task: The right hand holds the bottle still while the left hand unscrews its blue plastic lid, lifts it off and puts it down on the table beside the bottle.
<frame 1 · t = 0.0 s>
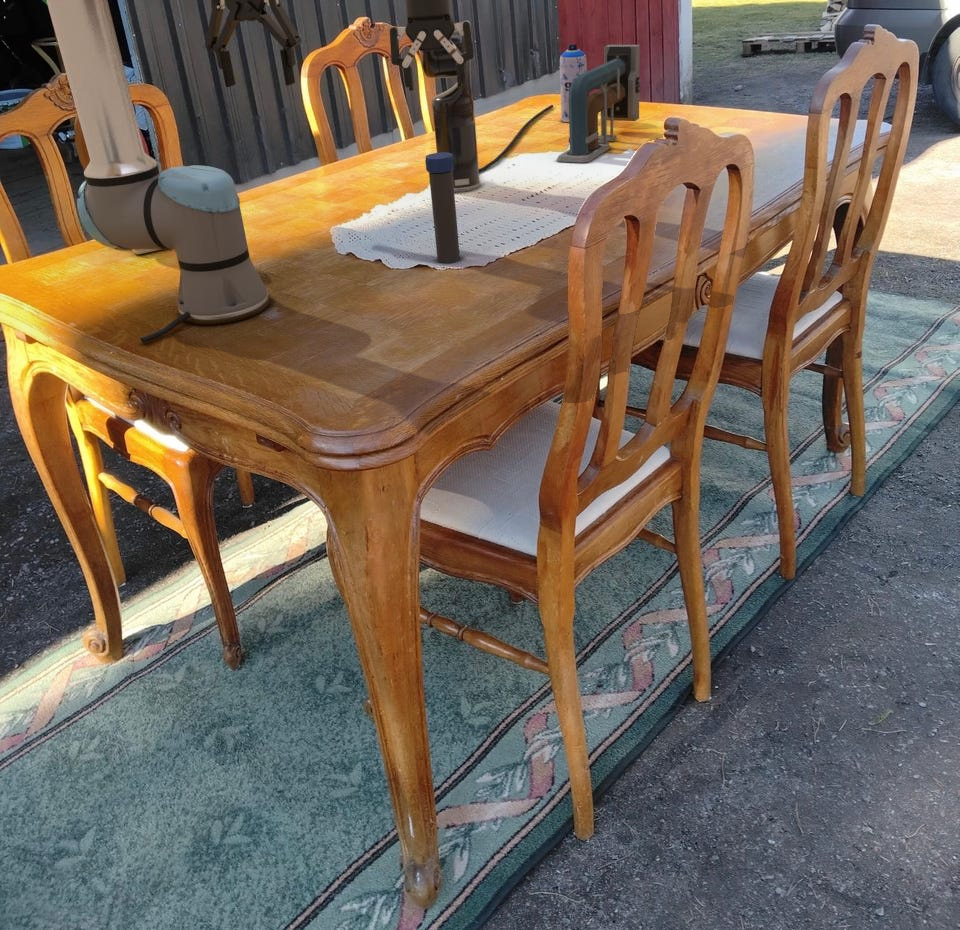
left hand: (260, 85, 196), 28 cm above the table, tool pointing down, fingers open, 13 cm apart
right hand: (435, 88, 170), 29 cm above the table, tool pointing down, fingers open, 8 cm apart
bottle: (448, 259, 180), on the table
aerosol can: (574, 120, 278), on the table
toy: (144, 245, 202), on the table
lid: (439, 157, 171), point 19 cm above the table, screwed on, not yet turned
clamp: (598, 145, 248), on the table
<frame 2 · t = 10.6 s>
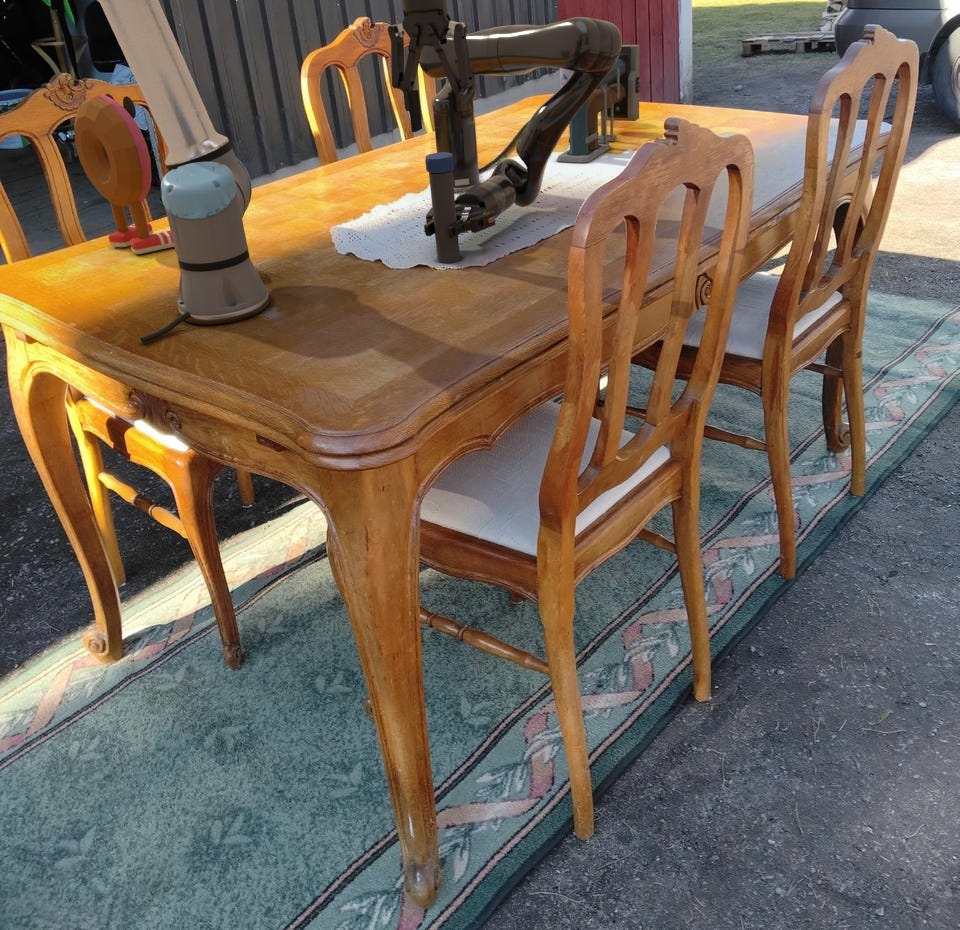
left hand: (436, 130, 168), 23 cm above the table, tool pointing down, fingers open, 7 cm apart
right hand: (438, 231, 175), 6 cm above the table, tool horizontal, fingers closed on bottle, 4 cm apart
bottle: (448, 259, 180), on the table, touching right hand
everything else where it was.
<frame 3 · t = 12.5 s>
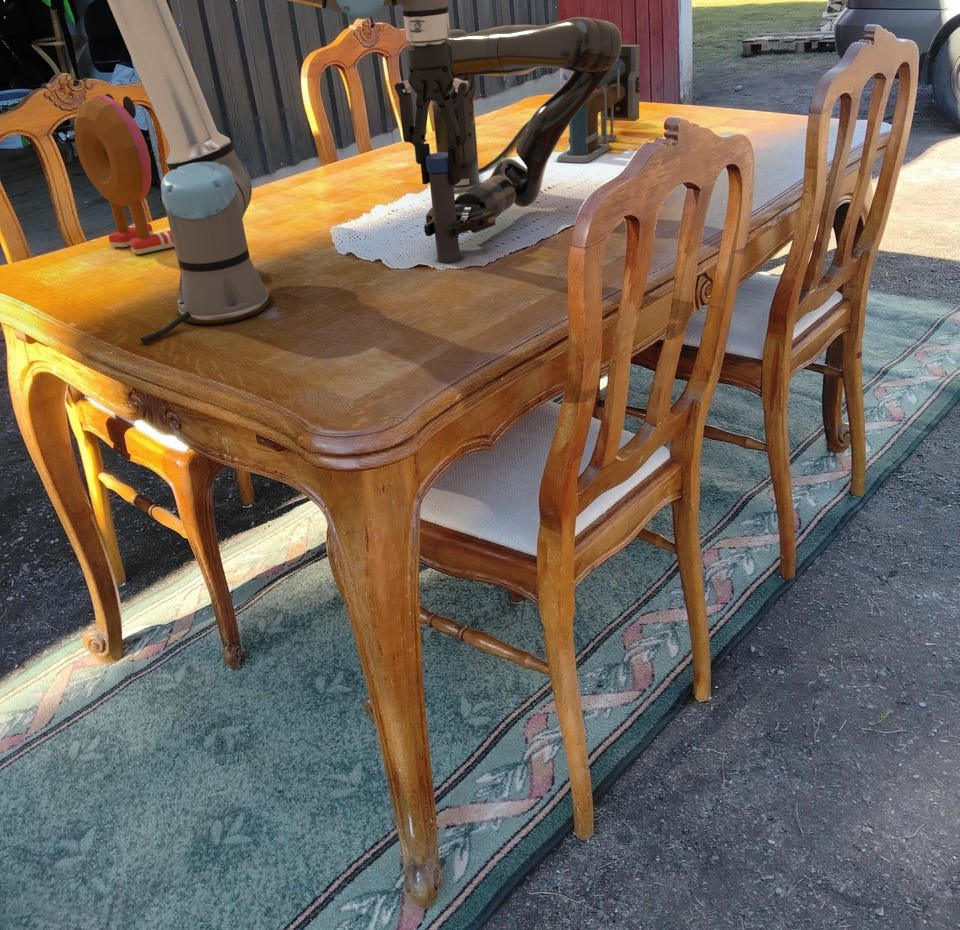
left hand: (441, 182, 173), 14 cm above the table, tool pointing down, fingers closed on lid, 5 cm apart
right hand: (438, 231, 175), 6 cm above the table, tool horizontal, fingers closed on bottle, 4 cm apart
bottle: (448, 259, 180), on the table, touching right hand
lid: (439, 157, 171), point 19 cm above the table, screwed on, not yet turned, touching left hand
everything else where it was.
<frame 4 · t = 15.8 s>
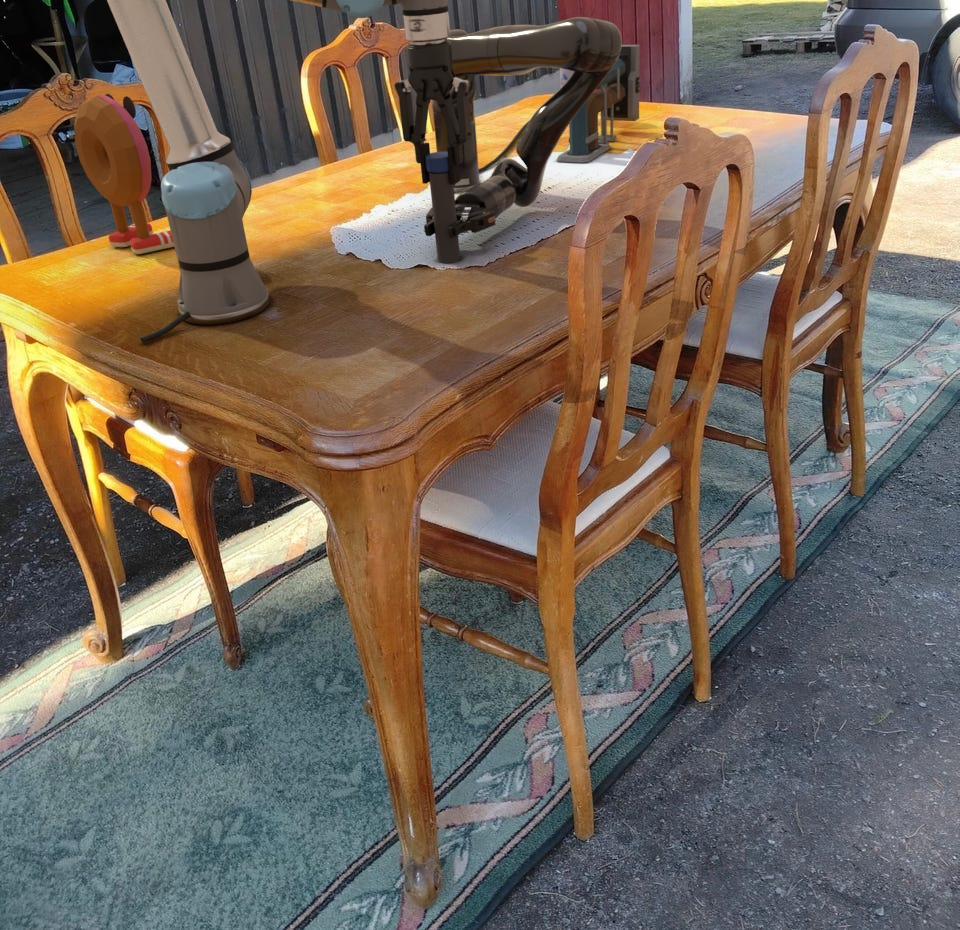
left hand: (441, 181, 173), 14 cm above the table, tool pointing down, fingers closed on lid, 5 cm apart
right hand: (438, 231, 175), 6 cm above the table, tool horizontal, fingers closed on bottle, 4 cm apart
bottle: (448, 259, 180), on the table, touching right hand
lid: (439, 156, 170), point 19 cm above the table, turned 108° so far, risen 0.1 cm, still on its thread, touching left hand
everything else where it was.
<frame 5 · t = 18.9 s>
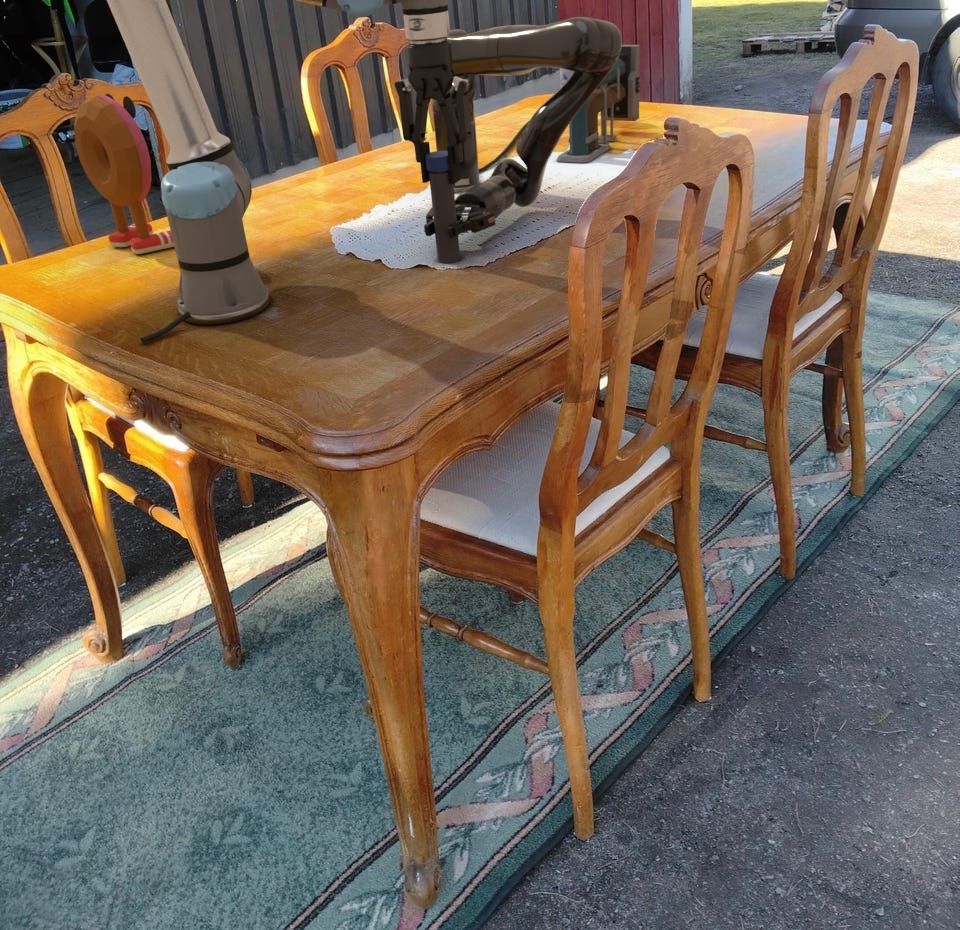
left hand: (441, 181, 173), 15 cm above the table, tool pointing down, fingers closed on lid, 5 cm apart
right hand: (438, 231, 175), 6 cm above the table, tool horizontal, fingers closed on bottle, 4 cm apart
bottle: (448, 259, 180), on the table, touching right hand
lid: (439, 156, 170), point 19 cm above the table, turned 215° so far, risen 0.3 cm, still on its thread, touching left hand
everything else where it was.
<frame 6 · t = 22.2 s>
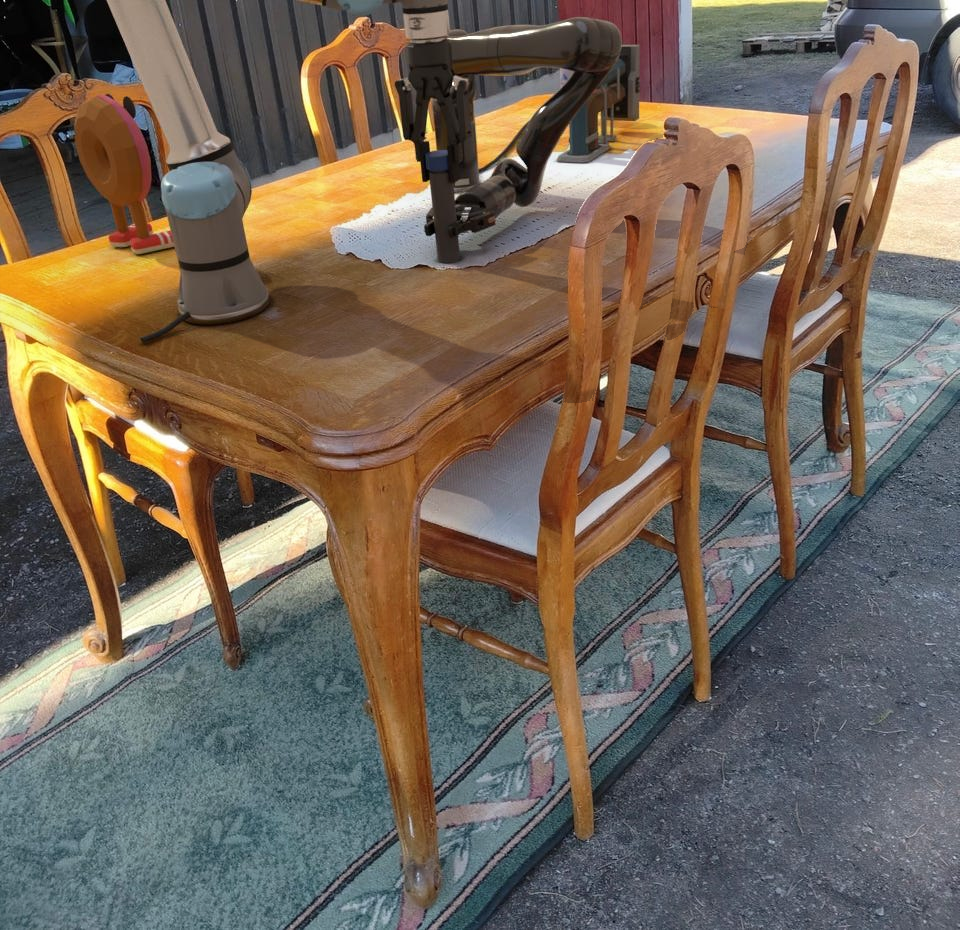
left hand: (441, 180, 173), 15 cm above the table, tool pointing down, fingers closed on lid, 5 cm apart
right hand: (438, 231, 175), 6 cm above the table, tool horizontal, fingers closed on bottle, 4 cm apart
bottle: (448, 259, 180), on the table, touching right hand
lid: (439, 155, 170), point 19 cm above the table, turned 323° so far, risen 0.4 cm, still on its thread, touching left hand
everything else where it was.
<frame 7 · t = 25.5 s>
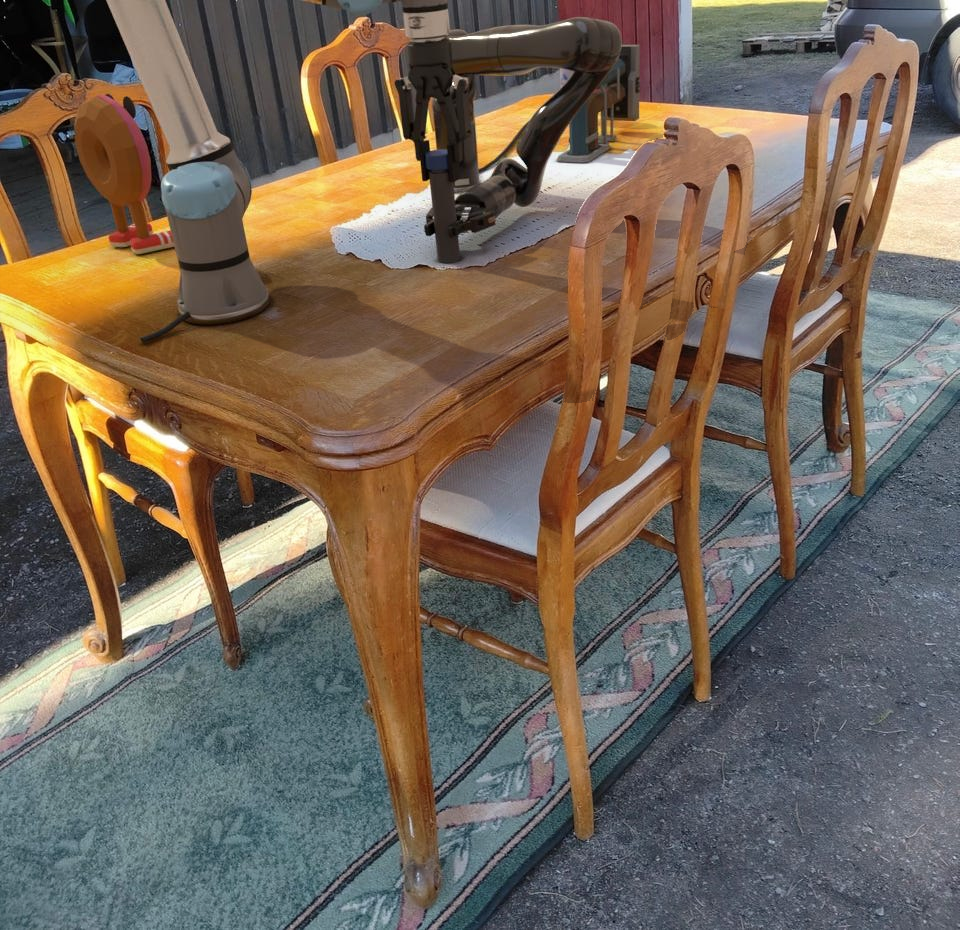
left hand: (441, 179, 172), 15 cm above the table, tool pointing down, fingers closed on lid, 5 cm apart
right hand: (438, 231, 175), 6 cm above the table, tool horizontal, fingers closed on bottle, 4 cm apart
bottle: (448, 259, 180), on the table, touching right hand
lid: (439, 154, 170), point 19 cm above the table, turned 430° so far, risen 0.5 cm, still on its thread, touching left hand
everything else where it was.
when the left hand's fingers open (0 cm above the table, at t = 32.2 s): lid drops 2 cm, point 2 cm above the table.
when the right hand's fingers open (6 cm above the table, at t = 32.8 s): bottle stays where it is, on the table.
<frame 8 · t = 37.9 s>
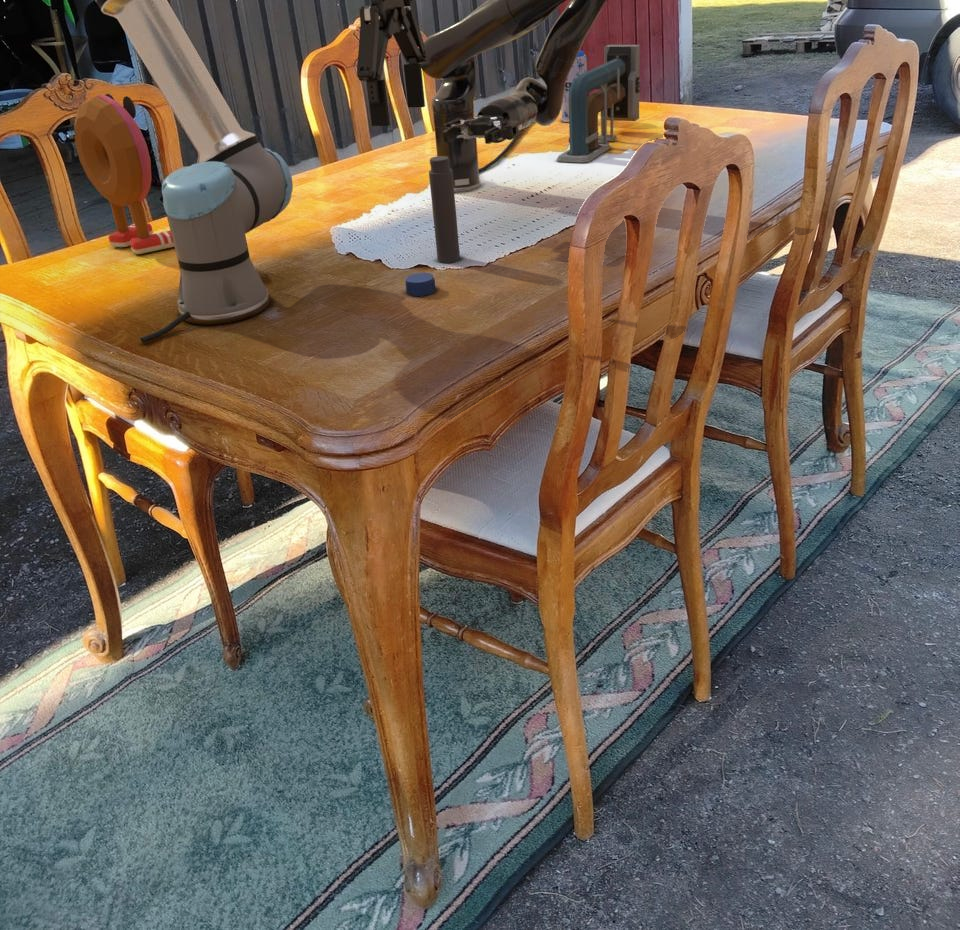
left hand: (399, 116, 152), 29 cm above the table, tool pointing down, fingers open, 13 cm apart
right hand: (466, 137, 178), 20 cm above the table, tool horizontal, fingers open, 8 cm apart
bottle: (448, 259, 180), on the table
lid: (419, 279, 166), point 2 cm above the table, off its thread
everything else where it was.
at the end: lid came off its thread; lid point 2.1 cm above the table; the left hand is holding nothing; the right hand is holding nothing; bottle tilted 0°; bottle moved 0.0 cm from its start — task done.
